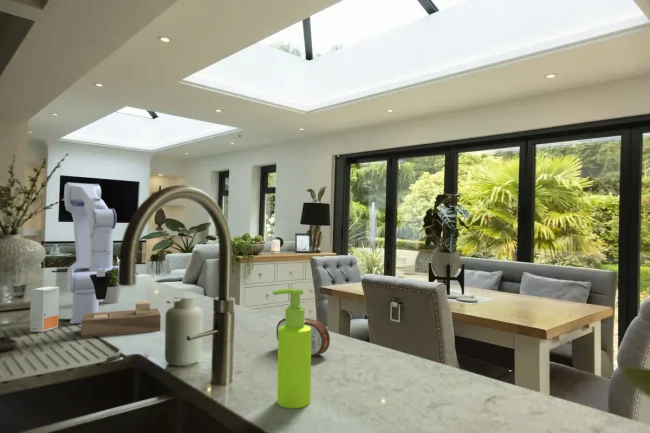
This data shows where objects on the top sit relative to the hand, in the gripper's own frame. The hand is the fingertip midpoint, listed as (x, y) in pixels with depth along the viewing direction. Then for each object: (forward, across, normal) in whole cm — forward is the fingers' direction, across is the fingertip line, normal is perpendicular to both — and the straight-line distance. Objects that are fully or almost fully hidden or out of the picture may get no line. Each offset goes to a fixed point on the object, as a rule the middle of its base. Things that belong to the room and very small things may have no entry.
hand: (100, 299), depth 125 cm
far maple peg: (+6, 0, -11) cm, 12 cm away
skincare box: (+10, +9, +14) cm, 20 cm away
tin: (+9, -41, -44) cm, 61 cm away
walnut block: (+9, 0, -6) cm, 11 cm away
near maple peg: (+9, 0, 0) cm, 9 cm away
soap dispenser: (+9, -67, -32) cm, 75 cm away
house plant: (+10, +49, -2) cm, 50 cm away
